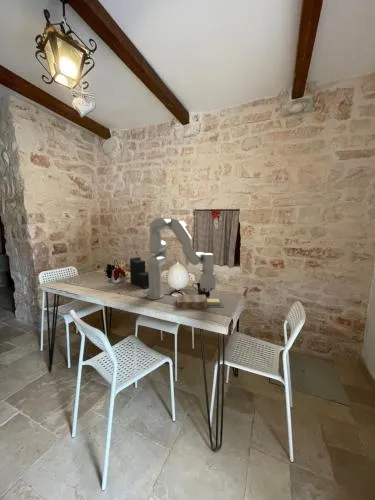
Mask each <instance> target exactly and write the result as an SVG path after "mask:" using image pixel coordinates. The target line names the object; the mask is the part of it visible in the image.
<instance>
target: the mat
mask: <svg viewBox="0 0 375 500" xmlns="http://www.w3.org/2000/svg"><path fill="white" fill-rule="evenodd" d="M218 299H219V301H220V305H207V308H211V309H213V308H214V309H215V308H216V309H217V308H219V309H220V308H225V305H224V303H223V301H222V299H220V298H218Z"/></svg>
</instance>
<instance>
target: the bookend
mask: <svg viewBox="0 0 375 500" xmlns="http://www.w3.org/2000/svg"><path fill="white" fill-rule="evenodd" d="M141 258H142V257H141V256H137V257H130V258H129V269H130V270H129V273H130V284H132V285H134V286H137V287H139V288H141V289H144V290H147V289H148V290H149V273H148V272H147V271H146V261H145V260H142V259H141Z"/></svg>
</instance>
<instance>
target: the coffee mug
mask: <svg viewBox="0 0 375 500" xmlns="http://www.w3.org/2000/svg"><path fill="white" fill-rule="evenodd" d="M191 285H192V288H193V289H194V290H195V291H197V292H198V294H197V295H205V291H204V290H202V289H200V286H201V285H200V280H197V281H196V282H193V284H191ZM194 285H196V286H197V288H196V287H194Z"/></svg>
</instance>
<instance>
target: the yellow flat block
mask: <svg viewBox="0 0 375 500" xmlns="http://www.w3.org/2000/svg"><path fill="white" fill-rule="evenodd" d="M206 299H207V305H220V301H219V299H220V298H206Z"/></svg>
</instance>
